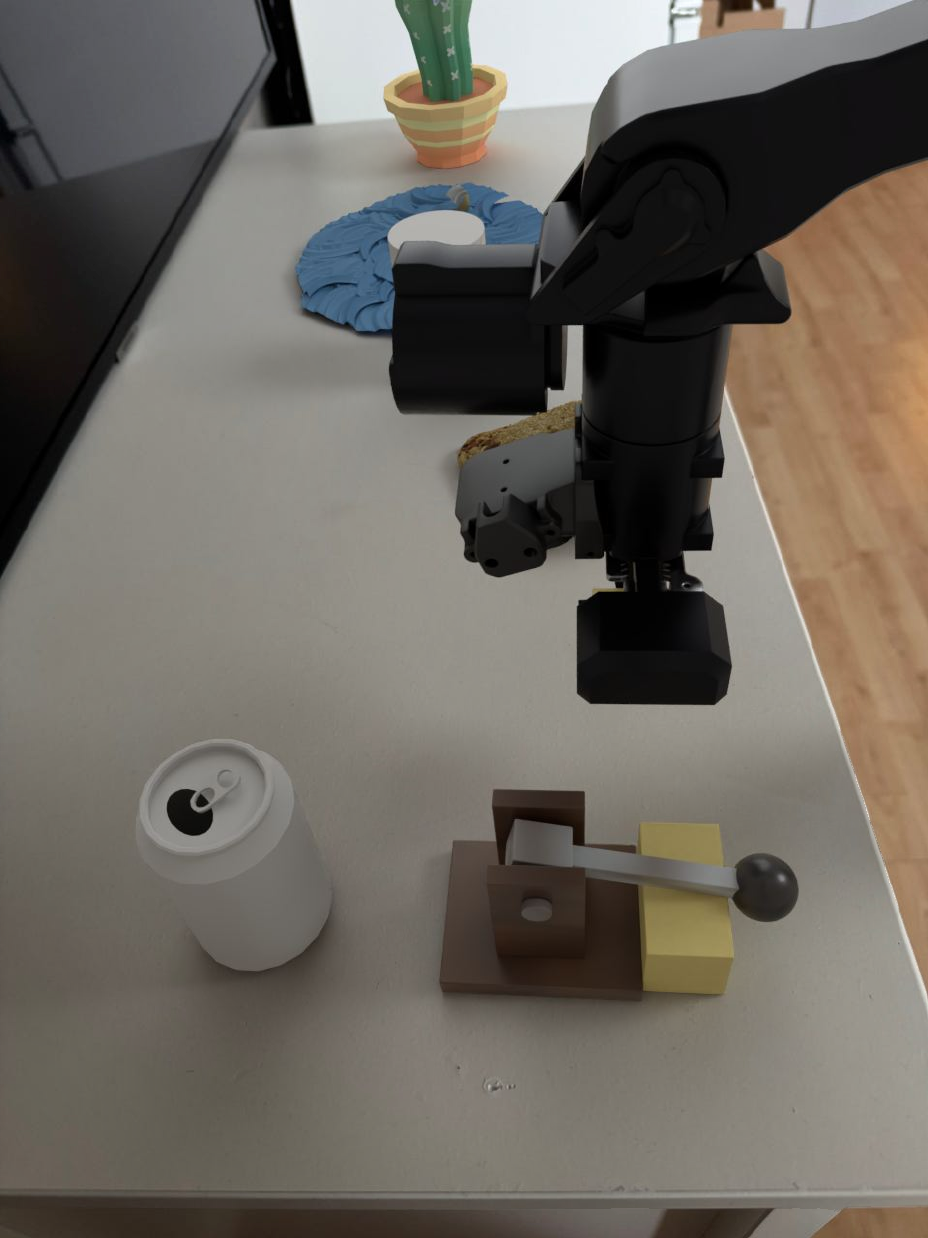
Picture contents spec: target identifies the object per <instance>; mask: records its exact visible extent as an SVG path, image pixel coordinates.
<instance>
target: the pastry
mask: <svg viewBox="0 0 928 1238" xmlns="http://www.w3.org/2000/svg"><path fill="white" fill-rule="evenodd" d="M575 403H581V404H582V399H579V400H571V401H569V402H565V403H564V404H560V405H558V406H555V407H552V408H551V409H547V413H537V415H536V416H527V417H526V418H525V419H521V420H519V421H517V422H514V423H513V424H511V423H509V424H508V425H505V426H502V427H498V428H494V429H493V430H489V431H483V432H480V433H477V434H475V435H472V436H471V437H470V438H469V437H468V438H467V440H466V441H465V442H464V443H463V444H462V446H461V447H460V448H459V450H458V451H457V464H458V466H459V468H460V469H461V467H462V465H463V464H464V463H465V462H466V461H467V460H468V459H469V458H470V457H472V456H473V455H475V454H477V453H480V452H483V451H486V450H489V449H492V448H495V447H498V446H501V445H504V444H508V443H511V442H514V441H517V440H520V439H523V438H526V437H529V436H532V435H535V434H540V433H549V434H551V433H555V432H559V431H563V430H568V429H572V428H575ZM460 469H459V470H460Z"/></svg>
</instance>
